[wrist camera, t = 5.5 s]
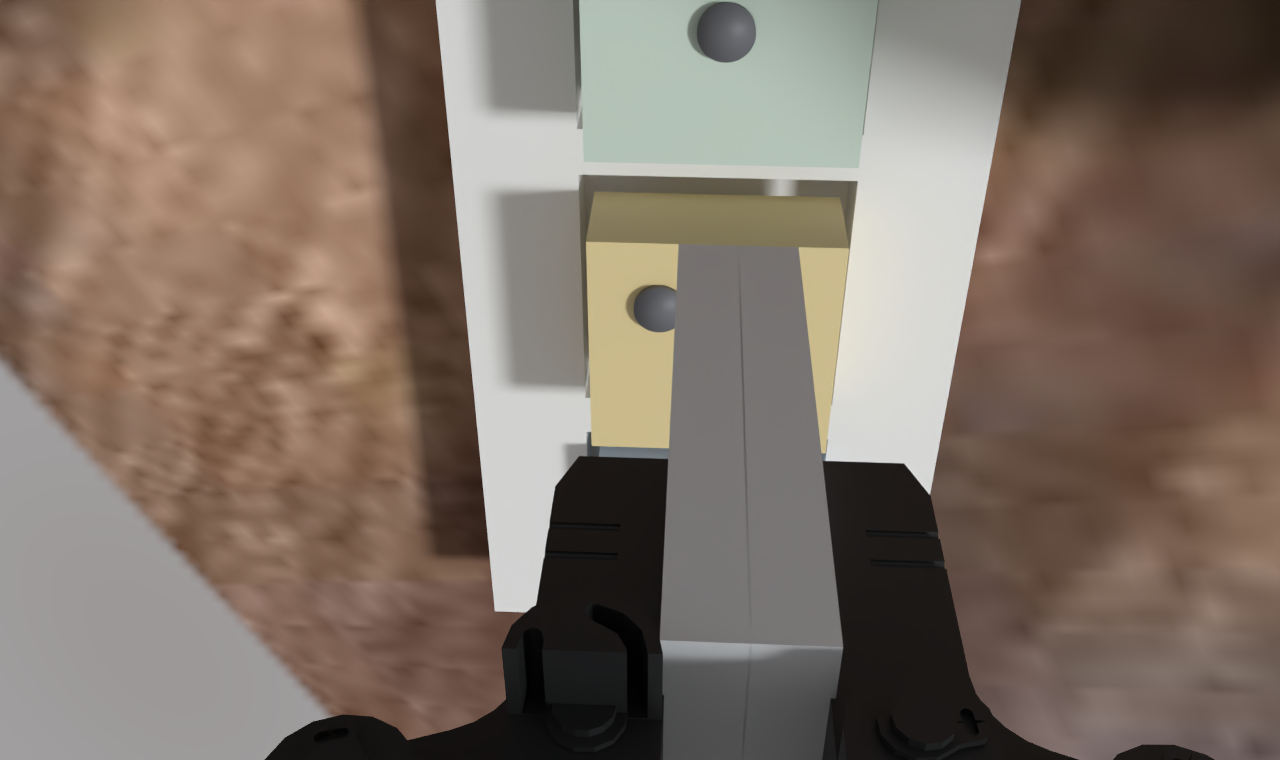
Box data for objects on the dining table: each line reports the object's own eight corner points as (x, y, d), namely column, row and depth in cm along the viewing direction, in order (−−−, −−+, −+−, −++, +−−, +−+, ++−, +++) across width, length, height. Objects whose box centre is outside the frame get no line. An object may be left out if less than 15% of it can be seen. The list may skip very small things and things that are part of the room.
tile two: (594, 191, 30) (585, 246, 28) (840, 197, 30) (849, 252, 28) (599, 388, 34) (590, 450, 31) (818, 395, 33) (825, 458, 31)
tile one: (586, -157, 25) (574, -123, 23) (878, -153, 25) (893, -120, 23) (592, 115, 29) (583, 165, 27) (848, 120, 29) (859, 171, 26)
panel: (437, -234, 27) (415, -212, 25) (1032, -228, 27) (1059, -205, 25) (505, 556, 41) (495, 611, 39) (895, 570, 41) (905, 626, 39)
